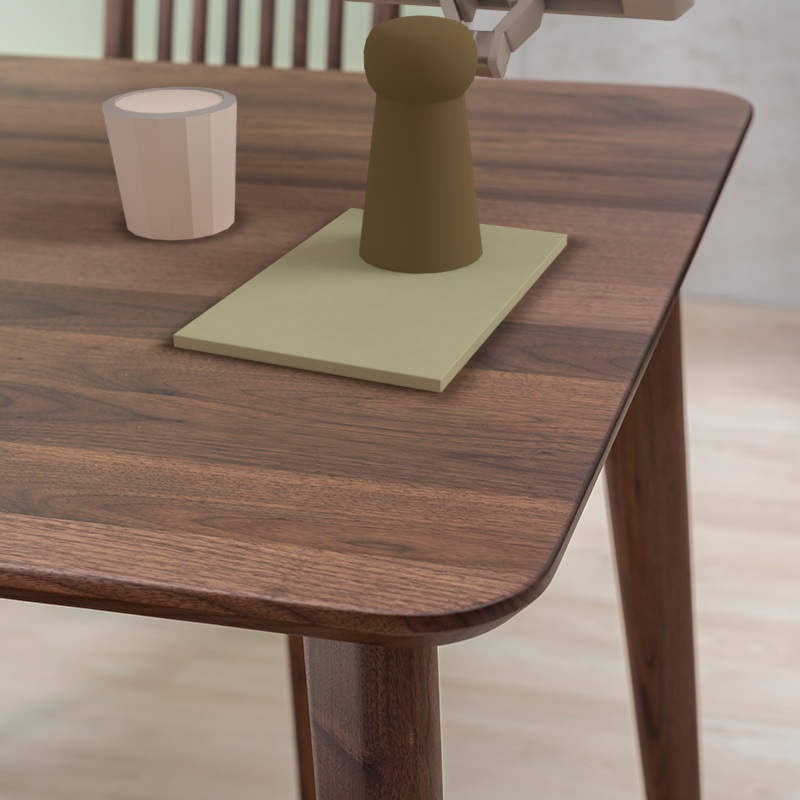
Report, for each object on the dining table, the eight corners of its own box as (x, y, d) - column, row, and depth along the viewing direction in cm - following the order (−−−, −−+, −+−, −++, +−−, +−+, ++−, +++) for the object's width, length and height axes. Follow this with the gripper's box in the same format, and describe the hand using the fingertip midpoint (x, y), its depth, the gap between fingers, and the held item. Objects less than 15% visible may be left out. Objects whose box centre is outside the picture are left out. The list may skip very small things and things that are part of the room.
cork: (500, 240, 62) (507, 11, 57) (454, 281, 58) (456, 35, 53) (391, 224, 65) (388, 3, 60) (337, 262, 60) (328, 25, 55)
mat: (351, 225, 68) (350, 207, 67) (566, 252, 64) (567, 233, 63) (174, 356, 53) (172, 334, 53) (440, 403, 49) (440, 379, 48)
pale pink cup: (130, 259, 63) (114, 122, 60) (105, 219, 69) (90, 91, 66) (261, 241, 66) (253, 107, 62) (227, 203, 71) (217, 79, 68)
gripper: (341, -196, 68) (267, 20, 65) (722, -196, 61) (664, 47, 58) (375, -115, 74) (309, 88, 70) (728, -106, 67) (674, 120, 63)
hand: (472, 70), depth 64 cm, fingers closed
